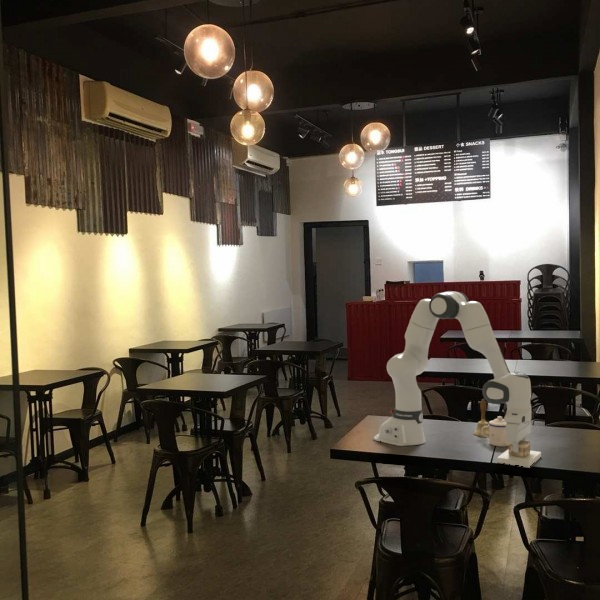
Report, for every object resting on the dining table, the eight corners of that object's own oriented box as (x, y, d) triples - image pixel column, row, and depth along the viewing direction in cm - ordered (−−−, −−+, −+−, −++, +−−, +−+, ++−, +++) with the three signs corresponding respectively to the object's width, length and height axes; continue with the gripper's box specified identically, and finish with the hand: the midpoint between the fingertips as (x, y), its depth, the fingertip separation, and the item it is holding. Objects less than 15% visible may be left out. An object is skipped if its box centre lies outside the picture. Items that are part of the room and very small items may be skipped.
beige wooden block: (508, 454, 242) (508, 443, 241) (513, 450, 247) (513, 439, 247) (525, 457, 238) (525, 445, 238) (530, 453, 243) (530, 441, 243)
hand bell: (492, 432, 284) (491, 397, 284) (493, 437, 276) (492, 401, 276) (473, 431, 286) (472, 397, 286) (473, 436, 278) (473, 400, 278)
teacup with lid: (511, 441, 268) (511, 414, 267) (510, 447, 259) (510, 419, 259) (482, 439, 272) (482, 413, 272) (480, 445, 264) (480, 417, 263)
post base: (497, 462, 239) (497, 449, 239) (510, 452, 252) (510, 440, 252) (529, 467, 232) (529, 454, 232) (541, 457, 245) (541, 444, 245)
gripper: (518, 408, 252) (519, 442, 252) (502, 418, 235) (502, 454, 236) (535, 410, 248) (535, 444, 249) (519, 420, 232) (519, 457, 232)
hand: (519, 449), depth 242 cm, fingers closed on beige wooden block, 6 cm apart
